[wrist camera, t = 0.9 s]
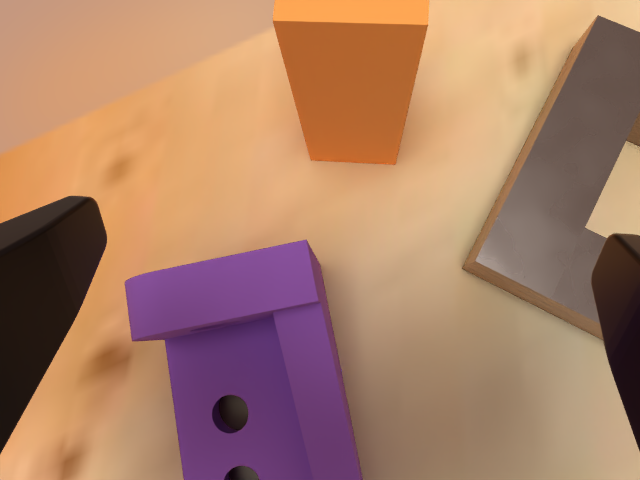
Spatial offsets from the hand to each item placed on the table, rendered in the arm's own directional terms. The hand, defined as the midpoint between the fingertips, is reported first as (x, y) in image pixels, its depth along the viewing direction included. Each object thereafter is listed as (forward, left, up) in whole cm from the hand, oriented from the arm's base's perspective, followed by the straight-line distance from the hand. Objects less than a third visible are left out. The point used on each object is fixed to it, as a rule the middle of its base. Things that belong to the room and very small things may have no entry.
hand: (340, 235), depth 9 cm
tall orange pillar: (+7, +4, -14) cm, 16 cm away
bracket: (-6, +1, -15) cm, 16 cm away
